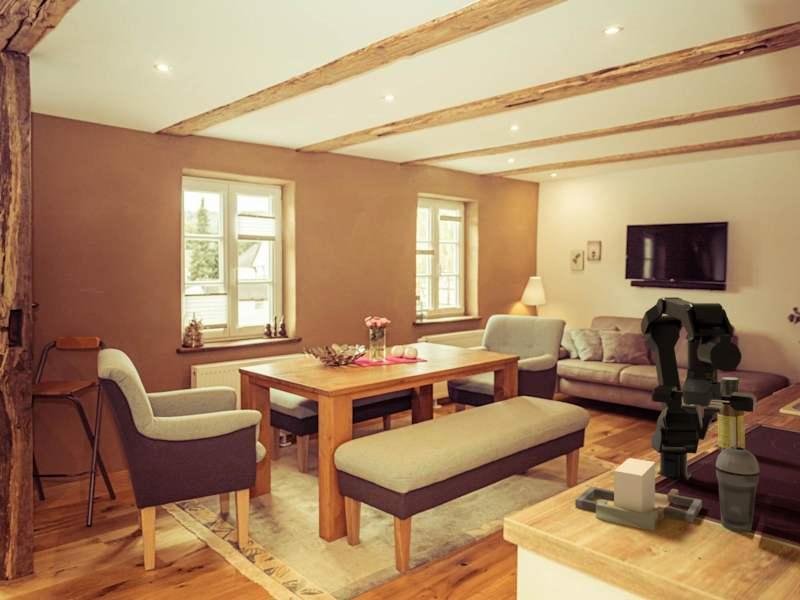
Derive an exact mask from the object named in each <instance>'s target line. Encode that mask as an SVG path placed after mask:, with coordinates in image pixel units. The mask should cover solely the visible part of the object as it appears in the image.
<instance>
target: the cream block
mask: <svg viewBox="0 0 800 600" xmlns="http://www.w3.org/2000/svg"><path fill="white" fill-rule="evenodd" d="M613 472H614V473H613V478H614V479H613V482H614V483H613V491H614V500H613V504H614V506H616V507H620V508H625V509H630V510H634V511H639V512H644V513H649V512H650V511H651V510H653V509H654V508H655V493H656V462H655V461H651V460H650V461H649V460H644V459H638V458H631V457H628V458H627V459H626V460H625V461H624V462H623V463H622V464H620V465H619V466H618V467H617V468H616V469H614V471H613Z"/></svg>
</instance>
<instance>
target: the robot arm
mask: <svg viewBox="0 0 800 600" xmlns="http://www.w3.org/2000/svg"><path fill="white" fill-rule="evenodd" d="M683 327H684V330H685V332H686V333H687V334H686V335H685V340H687V371H686V378H685V381H684V383H683V386H682V387H681V381H680V380H681V379H680V374H679V368H678V361H677V356H676V355H677V354H676V349H675V347H676V345H677V343H678V341H679V339H680V337H681V335H680V334H681V333H680V332H681V331H682V329H683ZM640 330H641V331H640V332H641V333H642V335H643V337H644V338H643V339H644V343H645V344H646V346H648V347H649V348H650V350H651V351H652V352H653V357H654V364H655V370H656V376H657V381H658V385H657V386H656V387H654V388H653V389H652V391H651V402H655V403H660V404H661V409H662V410H661V413H660V414H659V416H658V419H657V421H656V428H655V430H654V432H653V434H652V435H651V439H650V442H651V447H652V449H653V450H655V451H656V452H657V453H658V454H659V461H660V462H659V463H660V464H659V471H658V472H656V475H658V476H659V475H660V476H663V477H664V478H671V479H681V480H690V478H691V477H692V473H689V472H688V454H693V455H695V454H697V453H698V447H699V443H700V440H703V441H704V440H705V439H706V436H707V434H708V432H709V431H708V430H709V428H710V425H711V424H712V421H713V419H714V417H715V415H716V414H717V413H718V412H721V411H722V410H723V409H724V406H723V404H725V405H730V406H731V407H732V408H733V409H734V410H737V411H744V412H746V413H747V412H748V413H753V412H754V411H755V409H756V408H757V396H756V395H755V394H754V393H750V392H739V391H738V392H733V394H732V395H731V396H727V395H722V383H721V381H719V371H721V372H731V371H733V370H735V369H736V368H737V367H738V366H739V365H740V363H741V361H742V353H741V350H740V349H739V347H738V346H737V345H736V343H734V342H732V341H731V339H732V338H733V337H734V335H733V334H734V333H733V331H734V328H733V326H732V324H731V322H730V319H729V318H728V315H727V312H726V310H725V309H724V308H723V306H722V304H720V303H719V302H717V303H716V302H711V303H710V302H709V303H707V302H705V303H704V302H703V303H702V302H701V303H700V302H699V303H698V302H697V303H696V302H695V303H694V302H691V301H687V300H685V299H683V298H680V297H675V296H673V297H667V296H665V297H661V298H658V300H657V302H656V304H654V306H652V307H651V308H649V309H648V310H646V311H645V313H644V315H643V317H642V319H641V322H640ZM702 407H703V411H702ZM702 412H703V413H702Z"/></svg>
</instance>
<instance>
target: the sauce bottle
mask: <svg viewBox="0 0 800 600" xmlns="http://www.w3.org/2000/svg"><path fill="white" fill-rule="evenodd" d="M720 382H721V383H722V395H727V396H731V395H732V394H733V392H739V384H740V380H739V378H738V377H733V376H731V377H730V376H728V377H727V376H726V377H721V381H720ZM723 406H724V409H723V410H722V411H721V412H717V441H718V442H717V445H718V448H719V449H718V450H719V452H720V453H721V452H722V451H723V450H725V449H726V448H729V447H733V439H732V426H731V422H734V424H735V436H736V447H741V448H744V449H745V448H746V436H745V435H746V434H745V433H746V432H745V431H746V430H745V411H737V410H734V409H733V408H732V407H731V406H730V405H725V404H723Z"/></svg>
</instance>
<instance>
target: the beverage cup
mask: <svg viewBox="0 0 800 600" xmlns="http://www.w3.org/2000/svg"><path fill="white" fill-rule="evenodd" d="M731 426H732V439H733V447H729V448H726V449H725V450H723V451H722V452H721V451H720V453H719V454H718V455H717V458H716V462H715V465H714V469H715V474H716V479H717V484H718V485H717V486H718V496H719V497H718V498H719V509H720V520H721V522H720V523H721V526H722V527H724V529H726V530H729V531H732V532H737V533H748V532H751V531H752V527H753V520H754V514H755V503H756V494H757V493H756V492H757V485H758V483H759V480H760V475H761V470H760V465H759V462H758V459H757V458H756V456H755V455H754V454H753V453H752V452H751V451H750V450H748V449H746V448H745V447H744V448H741V447H736V436H735V424H734V422H731Z"/></svg>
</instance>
